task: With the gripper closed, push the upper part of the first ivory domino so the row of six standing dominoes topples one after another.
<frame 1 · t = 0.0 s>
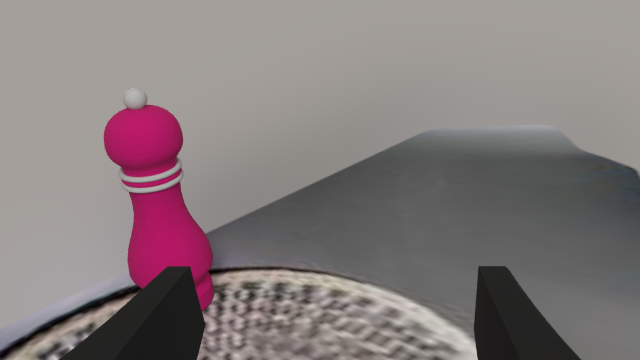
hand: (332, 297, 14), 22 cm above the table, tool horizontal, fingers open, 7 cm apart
pepper mill: (180, 302, 50), on the table
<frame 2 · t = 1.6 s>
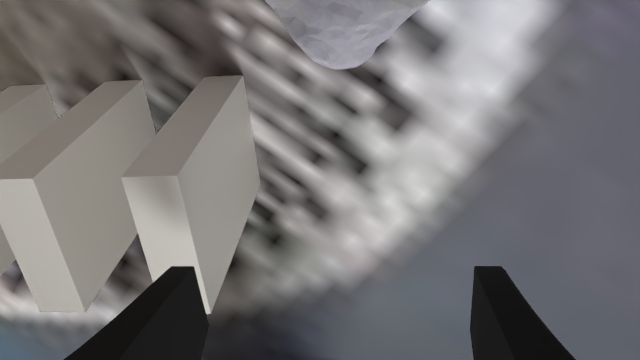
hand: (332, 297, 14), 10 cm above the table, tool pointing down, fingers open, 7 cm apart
domino 2: (138, 136, 23), on the table
domino 1: (233, 133, 23), on the table
domino 3: (47, 139, 24), on the table
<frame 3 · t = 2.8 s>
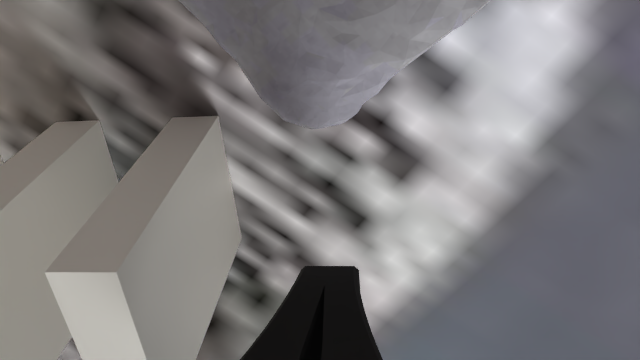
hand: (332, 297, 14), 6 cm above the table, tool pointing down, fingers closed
domino 2: (98, 183, 20), on the table
domino 1: (209, 181, 19), on the table
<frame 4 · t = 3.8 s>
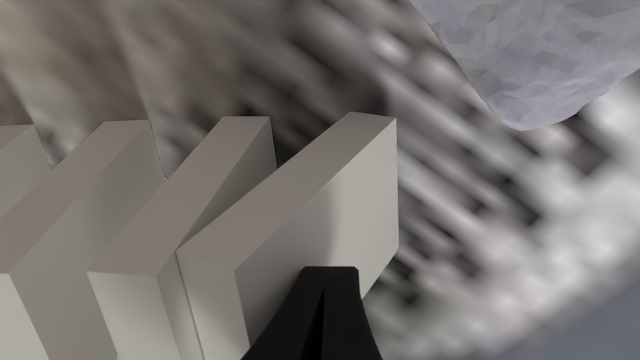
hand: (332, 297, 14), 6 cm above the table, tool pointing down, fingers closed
domino 2: (257, 182, 19), on the table, tilted 6°
domino 4: (37, 186, 20), on the table
domino 1: (375, 183, 18), on the table, tilted 25°
domino 3: (144, 183, 20), on the table
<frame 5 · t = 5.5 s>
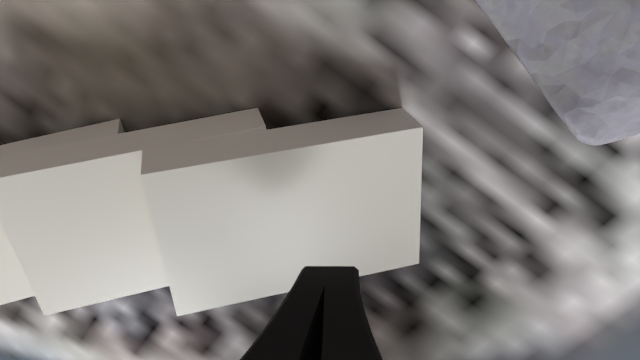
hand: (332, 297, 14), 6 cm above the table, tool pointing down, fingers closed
domino 2: (272, 185, 18), point 1 cm above the table, tilted 69°, touching domino 1, domino 3
domino 1: (411, 188, 18), point 1 cm above the table, tilted 70°, touching domino 2
domino 3: (141, 192, 19), point 1 cm above the table, tilted 69°, touching domino 2
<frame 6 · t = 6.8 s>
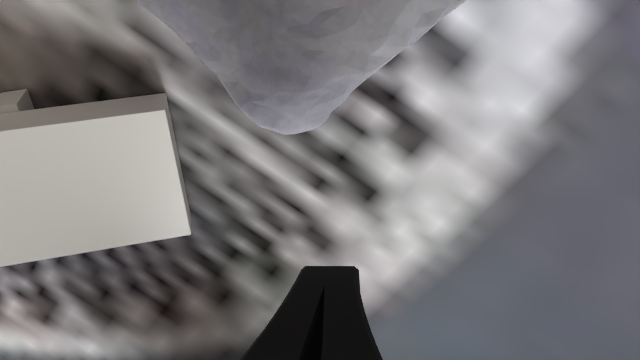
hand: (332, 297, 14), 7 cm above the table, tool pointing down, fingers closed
domino 2: (45, 159, 20), point 1 cm above the table, tilted 71°, touching domino 1, domino 3
domino 1: (178, 165, 20), point 1 cm above the table, tilted 71°, touching domino 2
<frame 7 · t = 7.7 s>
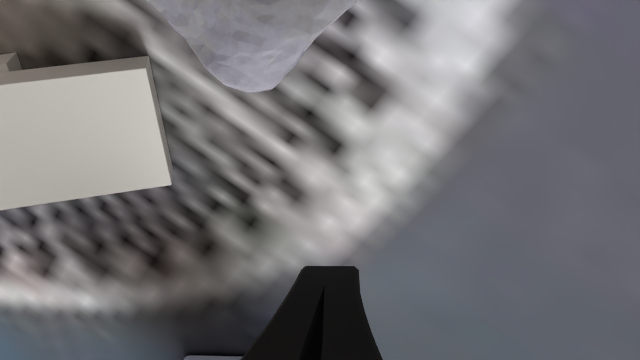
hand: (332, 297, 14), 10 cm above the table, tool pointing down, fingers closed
domino 2: (33, 116, 23), point 1 cm above the table, tilted 71°, touching domino 1, domino 3
domino 1: (160, 122, 22), point 1 cm above the table, tilted 72°, touching domino 2
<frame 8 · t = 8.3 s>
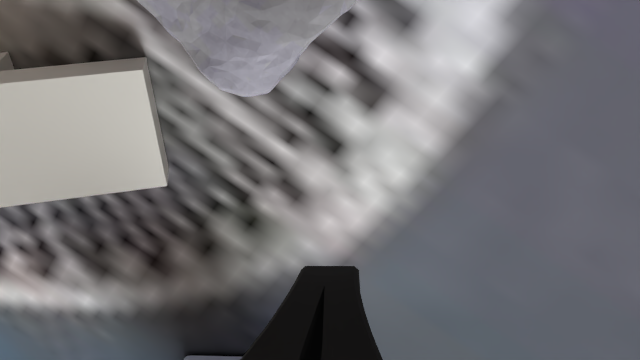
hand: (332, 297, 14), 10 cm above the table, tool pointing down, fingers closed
domino 1: (156, 123, 22), point 1 cm above the table, tilted 73°, touching domino 2
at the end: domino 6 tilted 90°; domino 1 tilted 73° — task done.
